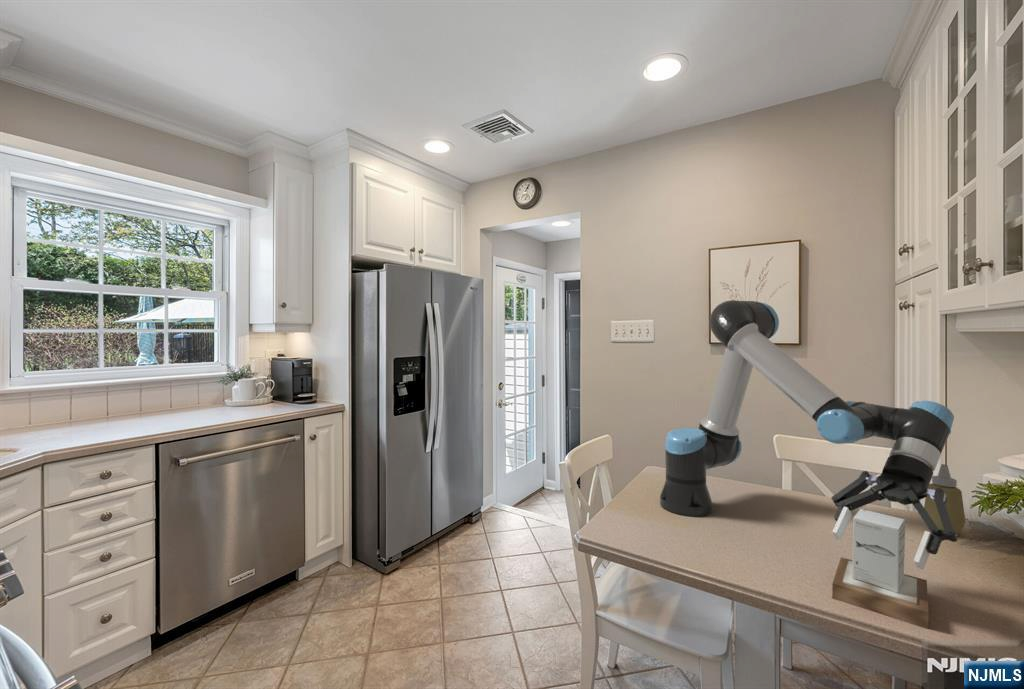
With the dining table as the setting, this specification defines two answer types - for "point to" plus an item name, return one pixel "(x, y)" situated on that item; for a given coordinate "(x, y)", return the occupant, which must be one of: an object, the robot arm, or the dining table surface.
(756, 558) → the dining table surface
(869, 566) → the supplement box
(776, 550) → the dining table surface
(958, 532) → the squeeze bottle
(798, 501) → the dining table surface
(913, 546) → the dining table surface
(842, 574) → the picture frame
